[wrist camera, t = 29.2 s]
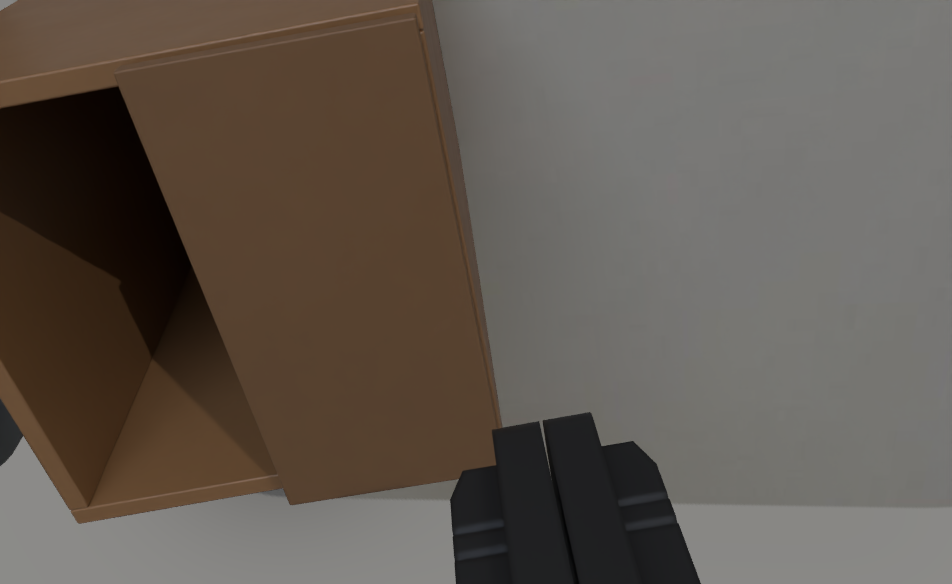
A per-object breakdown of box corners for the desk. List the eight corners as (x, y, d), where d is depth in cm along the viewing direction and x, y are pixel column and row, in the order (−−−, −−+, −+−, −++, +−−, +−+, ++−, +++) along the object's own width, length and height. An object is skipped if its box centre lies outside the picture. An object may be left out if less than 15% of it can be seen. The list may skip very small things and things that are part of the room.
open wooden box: (409, -118, 31) (419, 2, 15) (459, 150, 37) (505, 449, 20) (126, -64, 31) (-179, 114, 15) (221, 193, 37) (77, 525, 21)
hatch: (415, 11, 14) (415, 17, 14) (504, 460, 20) (505, 472, 20) (118, 65, 14) (111, 71, 14) (291, 494, 20) (289, 506, 20)
